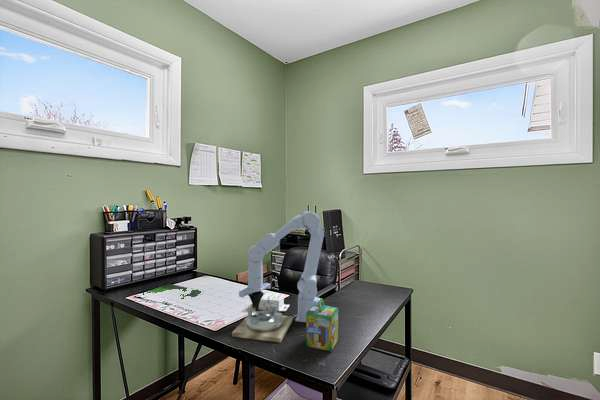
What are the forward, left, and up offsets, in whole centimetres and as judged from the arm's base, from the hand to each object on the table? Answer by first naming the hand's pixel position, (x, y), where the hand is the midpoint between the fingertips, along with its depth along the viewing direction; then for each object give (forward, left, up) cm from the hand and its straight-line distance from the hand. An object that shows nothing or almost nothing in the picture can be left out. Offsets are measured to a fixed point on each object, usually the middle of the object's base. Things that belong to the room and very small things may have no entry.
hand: (255, 310), depth 112 cm
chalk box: (-28, +9, -5) cm, 30 cm away
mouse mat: (+53, -21, -6) cm, 57 cm away
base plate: (-5, +3, -5) cm, 8 cm away
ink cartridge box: (+6, -17, -2) cm, 18 cm away
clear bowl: (-5, +3, -3) cm, 7 cm away
